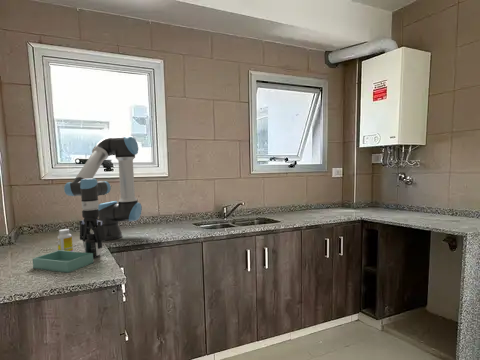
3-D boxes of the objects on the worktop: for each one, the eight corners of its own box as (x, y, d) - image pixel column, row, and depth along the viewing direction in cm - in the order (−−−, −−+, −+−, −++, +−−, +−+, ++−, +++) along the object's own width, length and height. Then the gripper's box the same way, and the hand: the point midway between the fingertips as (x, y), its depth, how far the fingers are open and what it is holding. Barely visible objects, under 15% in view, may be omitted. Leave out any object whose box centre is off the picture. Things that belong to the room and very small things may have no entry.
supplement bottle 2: (103, 253, 154) (101, 231, 154) (97, 258, 147) (95, 234, 147) (89, 254, 154) (88, 231, 153) (83, 258, 147) (81, 234, 147)
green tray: (60, 259, 148) (59, 250, 148) (93, 262, 141) (92, 253, 141) (33, 268, 136) (32, 258, 135) (68, 272, 128) (67, 262, 128)
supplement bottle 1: (75, 251, 162) (74, 228, 161) (68, 255, 155) (67, 230, 154) (62, 252, 161) (61, 228, 161) (55, 255, 155) (54, 231, 154)
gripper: (69, 209, 149) (72, 254, 151) (99, 210, 142) (102, 258, 144) (81, 207, 156) (84, 250, 158) (111, 208, 149) (114, 253, 151)
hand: (93, 254), depth 151 cm, fingers closed on supplement bottle 2, 7 cm apart
